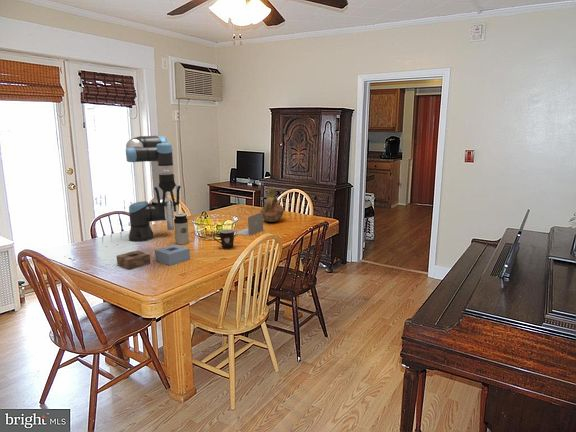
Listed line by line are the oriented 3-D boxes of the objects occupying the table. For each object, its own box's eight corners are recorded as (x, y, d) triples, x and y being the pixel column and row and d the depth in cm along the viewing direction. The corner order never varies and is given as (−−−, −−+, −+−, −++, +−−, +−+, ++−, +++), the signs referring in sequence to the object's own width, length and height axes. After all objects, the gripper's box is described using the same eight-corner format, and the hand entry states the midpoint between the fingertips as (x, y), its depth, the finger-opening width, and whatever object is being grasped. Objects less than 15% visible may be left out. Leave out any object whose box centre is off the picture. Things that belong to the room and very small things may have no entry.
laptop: (248, 228, 290) (247, 210, 287) (263, 230, 284) (263, 211, 281) (233, 234, 274) (232, 215, 271) (248, 236, 268) (248, 217, 266)
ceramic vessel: (286, 217, 320) (285, 185, 315) (281, 225, 295) (280, 190, 289) (264, 217, 322) (263, 185, 317) (257, 224, 297) (256, 190, 292)
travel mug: (175, 242, 257) (173, 213, 253) (188, 240, 259) (186, 212, 255) (176, 245, 249) (174, 216, 245) (189, 243, 252) (187, 215, 248)
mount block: (117, 264, 216) (116, 255, 215) (138, 259, 225) (137, 250, 224) (129, 269, 208) (128, 260, 207) (150, 263, 217) (149, 254, 216)
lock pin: (166, 229, 219) (164, 201, 215) (171, 228, 221) (169, 200, 218) (169, 230, 217) (167, 202, 213) (175, 229, 219) (172, 201, 216)
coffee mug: (237, 246, 246) (236, 229, 244) (230, 250, 238) (230, 233, 236) (220, 244, 250) (219, 228, 248) (213, 248, 242) (212, 232, 240)
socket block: (155, 260, 222) (154, 249, 221) (175, 254, 232) (175, 244, 230) (169, 265, 214) (168, 254, 212) (190, 259, 223) (189, 248, 222)
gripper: (150, 175, 206) (154, 221, 211) (183, 173, 212) (186, 218, 217) (149, 173, 213) (153, 218, 218) (181, 172, 219) (184, 215, 224)
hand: (169, 218), depth 217 cm, fingers closed on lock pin, 3 cm apart
